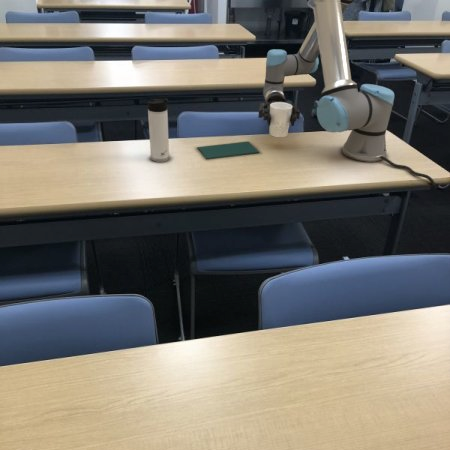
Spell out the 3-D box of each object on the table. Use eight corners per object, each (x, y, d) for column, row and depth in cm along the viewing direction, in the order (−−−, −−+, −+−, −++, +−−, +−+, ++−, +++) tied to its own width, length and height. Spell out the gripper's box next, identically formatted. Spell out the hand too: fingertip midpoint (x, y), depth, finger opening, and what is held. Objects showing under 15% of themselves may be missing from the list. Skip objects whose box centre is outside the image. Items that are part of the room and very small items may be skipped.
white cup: (288, 138, 173) (291, 110, 167) (266, 136, 174) (268, 108, 168) (290, 131, 179) (293, 103, 173) (269, 128, 180) (271, 101, 174)
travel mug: (167, 163, 164) (165, 102, 152) (148, 161, 165) (144, 100, 152) (172, 155, 169) (170, 96, 157) (153, 154, 170) (150, 94, 157)
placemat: (259, 153, 174) (259, 151, 174) (206, 159, 168) (206, 158, 168) (248, 142, 181) (248, 141, 181) (197, 148, 175) (197, 147, 175)
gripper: (300, 112, 189) (309, 133, 172) (248, 110, 189) (251, 131, 171) (303, 92, 184) (312, 111, 167) (249, 90, 184) (252, 110, 166)
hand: (281, 121), depth 169 cm, fingers closed on white cup, 8 cm apart
